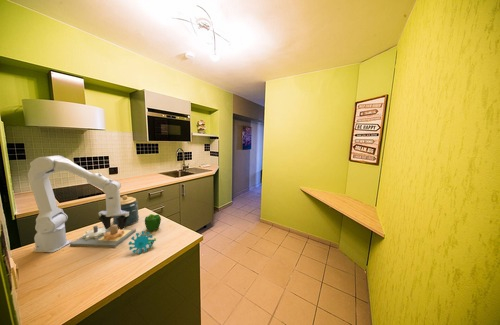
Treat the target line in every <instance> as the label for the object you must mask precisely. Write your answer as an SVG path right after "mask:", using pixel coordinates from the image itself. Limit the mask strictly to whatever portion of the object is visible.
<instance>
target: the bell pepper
mask: <svg viewBox="0 0 500 325" xmlns="http://www.w3.org/2000/svg"><path fill="white" fill-rule="evenodd" d="M161 222H162V216H161V215H159V213H158V214H152V213H150V214H149V215H148V216H145V218H144V226H145V228H146V230H147V232H154V231H156V230H158V229H159V228H160V225H161Z"/></svg>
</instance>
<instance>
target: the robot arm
mask: <svg viewBox="0 0 500 325" xmlns="http://www.w3.org/2000/svg"><path fill="white" fill-rule="evenodd" d="M29 165H30V168H29V170H28V172H27V177H28V178H27V179H28V182H29V185H30V187H31V191H32V193H33V196H34V201H35V203H36V205H37V210H38V211H39V213H38V215H37V217H36V218H35V226H34V228H35V229H34V230H35V231H36V233H35V235H34V236H33V237H34V238H33V239H34V245H35V249H34V250H33V252H35V253H36V252H37V253H54V252H57V251H58V250H60V249H63V248H64V247H66V246H68V245H69V244H70V243H72V242H73V240H67V234H66V224H65V223H67V221H68V218H69V217H68V215H67V214H66V213H65V212H64V210H63V208H60V207H58V203H57V200H56V197H55V193H54V190H53V189H54V188H53V187H52V183H51V181H50V176H51V175H52V174H53V173H54V172H57V171H59V172H60V171H61V172H62V171H63V172H64V171H66V172H69V173H71V174H74V175H77V176H78V177H81V178H83V179H86V182H87V183H88V184H90V185H92V186H94V187H96V188H98V189H100V190H102V192H103V193H104V194H105V195H104V196H105V206H106V208H105V210H101V211H99V212H98V216H99V218H98V220H99V221H100V222H101V224H103V227H105V228H106V229H110V226H112V224H111V219H112V217H113V216H120V217H119V218H117V220H118V222H119V226H120V227H119V229H120V230H122V229H125V228H126V226H125V223H126V220H127V218H128V217H129V212H126V211H122V210H121V204H120V198H121V195H120V193H121V192H120V191H121V190H120V189H121V187H122V185H121V183H120V181H119V180H116V179H115V180H114V179H112V178H108V177H106V176H104V174H103V173H101V172H100V173H98V172H95V173H93V172H91V171H89V170H87V169H85V168H84V167H82V166H80V165H78V164H77V163H75V162H73V161H72V160H70V159H69V158H68V157H67V158H66V157H64V156H63V155H58V154H55V155H50V156H40V157H39V156H38V157H36V158H34V159H33V160H32V161H31V162H29Z"/></svg>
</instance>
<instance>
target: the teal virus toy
mask: <svg viewBox="0 0 500 325" xmlns="http://www.w3.org/2000/svg"><path fill="white" fill-rule="evenodd" d="M148 235H149V236H148ZM135 236H136V238H135ZM135 236H134V235H133V236H132V237H131V238H130V239H131V240H132V241H134V242H132V241H129V242H128V246H129V247H128V249H129V251H131V250H132V253H133V254H135V253H137V254H142V250H143V252H144V253H145V252H147V251H148V249H147V246H148V248H152V244H154V243H155V242H156V241H157V238H153V234H150V231H147V232H146V233H145V231H144V230H143V231H141V233H140V232H137V233H135ZM131 245H133V246H131ZM143 248H144V249H143ZM133 249H134V250H133Z"/></svg>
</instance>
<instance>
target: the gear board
mask: <svg viewBox="0 0 500 325" xmlns="http://www.w3.org/2000/svg"><path fill="white" fill-rule="evenodd" d="M92 228H93V229H91V230H87V231H85V233H84V234H82V236H81V237H79V238H77V239H75V240H74V241H72V242H71V243H69V244H70V245H69V246H70V247H71V246H72V247H96V248H97V247H98V248H117V247H118V246H119V245H121V244H122V243H123V242H124V241H125V240H127V239H128V238H129V237H131V236H132V235H134V233H135V232H137V231H136V230H137V229H134V228H133V229H132V228H123V229H122V230H124V233H123V236H119V237H117V238H116V239H110V240H106V239H104V235H106V233H107V232H110V228H108V229H106V228H105V226H102V227H98V225H94V226H93V227H92ZM119 229H120V228H118V230H119Z"/></svg>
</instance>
